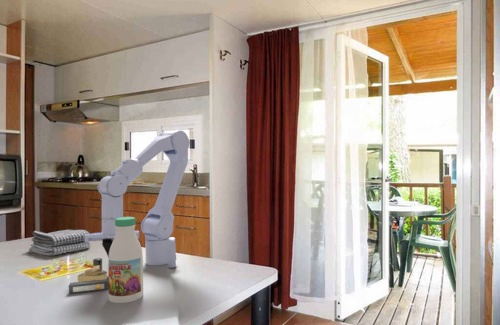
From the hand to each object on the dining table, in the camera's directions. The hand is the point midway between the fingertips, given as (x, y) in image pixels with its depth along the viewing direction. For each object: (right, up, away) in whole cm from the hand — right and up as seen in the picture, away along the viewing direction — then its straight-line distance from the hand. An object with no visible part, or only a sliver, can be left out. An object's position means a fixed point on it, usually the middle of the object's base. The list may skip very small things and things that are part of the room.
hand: (112, 265), depth 99 cm
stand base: (-2, -4, -7) cm, 8 cm away
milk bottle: (+10, -4, -17) cm, 20 cm away
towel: (-34, -5, +34) cm, 48 cm away
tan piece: (-3, -2, -4) cm, 6 cm away
